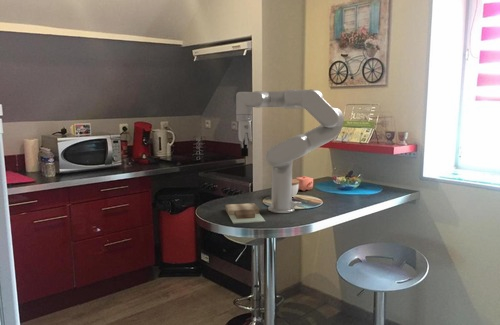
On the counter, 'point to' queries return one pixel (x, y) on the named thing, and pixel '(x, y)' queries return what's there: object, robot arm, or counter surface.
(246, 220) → the sage mat
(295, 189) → the lidded bowl
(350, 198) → the counter surface
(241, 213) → the walnut block
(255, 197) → the counter surface
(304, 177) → the pink cube teapot
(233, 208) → the birch board
